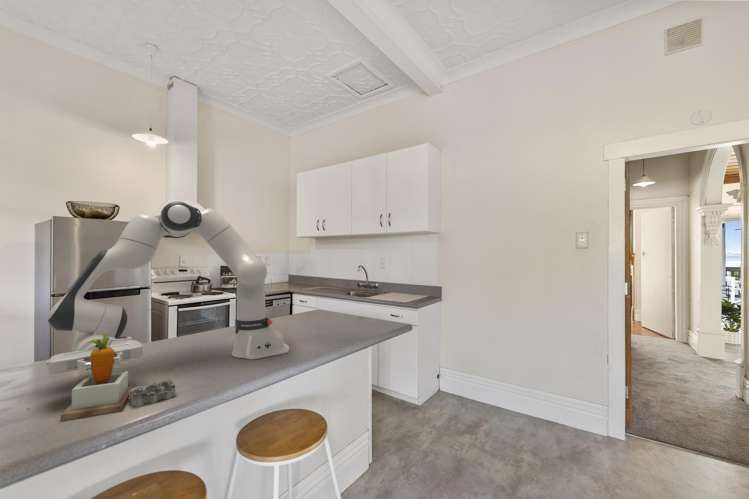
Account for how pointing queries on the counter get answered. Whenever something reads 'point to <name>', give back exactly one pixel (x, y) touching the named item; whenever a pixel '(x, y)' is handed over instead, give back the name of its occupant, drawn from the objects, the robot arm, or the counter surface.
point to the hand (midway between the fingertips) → (103, 363)
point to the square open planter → (99, 391)
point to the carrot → (102, 361)
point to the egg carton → (151, 393)
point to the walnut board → (96, 408)
